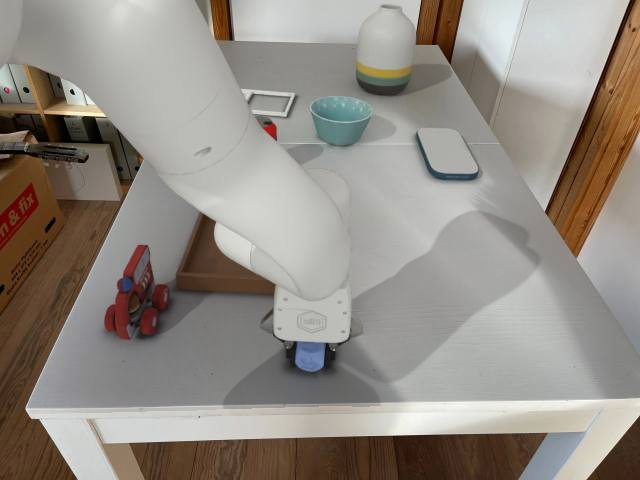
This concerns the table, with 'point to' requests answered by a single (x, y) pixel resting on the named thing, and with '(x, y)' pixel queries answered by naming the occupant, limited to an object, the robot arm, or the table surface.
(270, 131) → the soda can
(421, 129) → the external hard drive
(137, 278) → the toy fire truck
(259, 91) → the photo frame
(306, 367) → the decorative dice
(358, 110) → the bowl
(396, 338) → the table surface
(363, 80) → the vase
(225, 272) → the tray
